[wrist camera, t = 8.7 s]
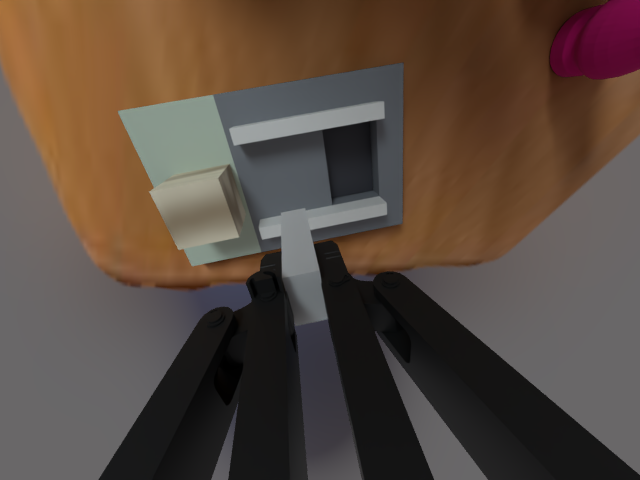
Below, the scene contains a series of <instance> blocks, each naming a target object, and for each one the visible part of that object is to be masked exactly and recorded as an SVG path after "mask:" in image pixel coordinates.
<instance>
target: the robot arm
mask: <svg viewBox="0 0 640 480" xmlns="http://www.w3.org/2000/svg"><path fill="white" fill-rule="evenodd" d="M281 247H282V251H281V252H276V253H271V254H266V255H265V256H264V257H263V259H262V260H261V266H260V271H259V272H256V273H255V274H253V275H251V276H250V277H249V278H248V280H247V282H246V285H247V287H248V290H249V292H250V295H251V298H252V302H251V303H250V304H248V305H247V306H245V307H243V308H241V309H239V310H237V311H235V312H233V311H232V309H230V308H229V307H219V308H215V309H213V310H211V311H209V312H208V313H206V314H205V315H204V316H203V317H202V318H201V319H200V321H199V322H198V324H197V325H196V327H195V328H194V330H193V331H192V333H191V335H190V336H189V338H188V339H187V341H186V343H185V344H184V346H183V347H182V349H181V350H180V352H179V354H178V355H177V357H176V358H175V360H174V361H173V363H172V365H171V366H170V368H169V369H168V371H167V372H166V374H165V376H164V377H163V379H162V380H161V382H160V384H159V385H158V387H157V388H156V390H155V391H154V393H153V395H152V396H151V398H150V399H149V401H148V403H147V404H146V406H145V407H144V409H143V411H142V412H141V413H140V415H139V417H138V418H137V420H136V421H135V423H134V424H133V426H132V428H131V429H130V431H129V432H128V434H127V436H126V437H125V439H124V440H123V442H122V444H121V445H120V447H119V448H118V450H117V451H116V453H115V454H114V456H113V458H112V459H111V461H110V462H109V464H108V465H107V467H106V469H105V470H104V472H103V473H102V475H101V477H100V478H99V480H211V478H212V475H213V472H214V470H215V467H216V464H217V461H218V458H219V455H220V452H221V450H222V446H223V444H224V441H225V438H226V435H227V432H228V430H229V427H230V424H231V421H232V418H233V415H234V412H235V410H236V407H237V404H238V409H237V417H236V425H235V432H234V440H233V448H232V456H231V463H230V471H229V479H228V480H308V475H307V463H306V450H305V437H304V425H303V424H304V423H303V411H302V398H301V384H300V371H299V358H298V345H297V335H296V332H295V328H294V322H295V326H298V325H303V324H307V323H312V322H317V321H322V320H326V319H328V322H329V327H330V332H331V338H332V342H333V346H334V351H335V355H336V360H337V365H338V370H339V374H340V379H341V384H342V388H343V393H344V398H345V402H346V407H347V411H348V416H349V421H350V425H351V430H352V435H353V439H354V444H355V449H356V453H357V458H358V463H359V468H360V472H361V477H362V480H434V478H433V476H432V473H431V471H430V468H429V466H428V463H427V461H426V459H425V456H424V454H423V451H422V448H421V446H420V443H419V441H418V438H417V436H416V433H415V431H414V429H413V426H412V423H411V421H410V419H409V416H408V414H407V411H406V409H405V406H404V404H403V401H402V399H401V396H400V394H399V391H398V389H397V386H396V384H395V381H394V379H393V376H392V374H391V371H390V369H389V366H388V364H387V361H386V359H385V356H384V354H383V351H382V349H381V346H380V344H379V342H378V339H377V336H376V334H375V331H377V333H378V335H379V336H380V338H381V339H382V340H383V342H384V343H385V344H386V345H387V347H388V348H389V349H390V351H391V352H392V353H393V355H394V356H395V357H396V359H397V360H398V361H399V363H400V364H401V365H402V367H403V368H404V369H405V371H406V372H407V373H408V375H409V376H410V377H411V378H412V380H413V381H414V382H415V384H416V385H417V386H418V388H419V389H420V390H421V392H422V393H423V394H424V395H425V397H426V398H427V400H428V401H429V402H430V403H431V405H432V406H433V407H434V409H435V410H436V411H437V413H438V414H439V415H440V417H441V418H442V419H443V421H444V422H445V423H446V425H447V426H448V427H449V428H450V430H451V431H452V433H453V434H454V435H455V437H456V438H457V439H458V440H459V442H460V443H461V444H462V446H463V447H464V448H465V450H466V451H467V452H468V454H469V455H470V456H471V458H472V459H473V460H474V461H475V463H476V464H477V465H478V467H479V468H480V470H481V471H482V472H483V473H484V475H485V476H486V477H487V479H488V480H640V475H639V474H638V473H637V472H635V471H634V470H633V469H632V468H631V467H629V466H628V465H627V464H626V463H625V462H624V461H622V460H621V459H620V458H619V457H618V456H616V455H615V454H614V453H613V452H612V451H611V450H609V449H608V448H607V447H606V446H605V445H603V444H602V443H601V442H600V441H599V440H598V439H596V438H595V437H594V436H593V435H592V434H590V433H589V432H588V431H587V430H586V429H585V428H583V427H582V426H581V425H580V424H579V423H578V422H576V421H575V420H574V419H573V418H572V417H570V416H569V415H568V414H567V413H566V412H564V411H563V410H562V409H561V408H560V407H559V406H557V405H556V404H555V403H554V402H553V401H552V400H550V399H549V398H548V397H547V396H546V395H544V394H543V393H542V392H541V391H540V390H539V389H537V388H536V387H535V386H534V385H533V384H531V383H530V382H529V381H528V380H527V379H526V378H524V377H523V376H522V375H521V374H520V373H519V372H517V371H516V370H515V369H514V368H513V367H511V366H510V365H509V364H508V363H507V362H506V361H504V360H503V359H502V358H501V357H500V356H498V355H497V354H496V353H495V352H494V351H493V350H491V349H490V348H489V347H488V346H486V345H485V344H484V343H483V342H482V341H481V340H480V339H478V338H477V337H476V336H475V335H473V334H472V333H471V332H470V331H469V330H468V329H466V328H465V327H464V326H463V325H462V324H460V323H459V322H458V321H457V320H456V319H455V318H454V317H452V316H451V315H450V314H449V313H448V312H446V311H445V310H444V309H443V308H442V307H441V306H439V305H438V304H437V303H436V302H435V301H433V300H432V299H431V298H430V297H429V296H428V295H426V294H425V293H424V292H423V291H422V290H421V289H419V288H418V287H417V286H416V285H415V284H413V283H412V282H411V281H410V280H409V279H407V278H406V277H405V276H404V275H402V274H400V273H397V272H388V271H387V272H383V273H380V274H378V275H376V277H375V278H374V280H373V281H360V280H356V279H354V278H353V277H352V276H351V275H350V274H349V273H348V271H347V268H346V266H345V263H344V261H343V258H342V256H341V253H340V251H339V248H338V245H337V244H336V243H334V242H333V241H327V242H322V243H317V244H313V240H312V236H311V232H310V227H309V223H308V219H307V214H306V210H305V208H302V209H297V210H292V211H287V212H282V213H281ZM238 401H239V402H238Z"/></svg>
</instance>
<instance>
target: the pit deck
mask: <svg viewBox="0 0 640 480" xmlns="http://www.w3.org/2000/svg"><path fill="white" fill-rule="evenodd" d="M118 113H119V115H120V117H121V120H122V122H123V124H124V126H125V128H126V130H127V132H128V134H129V136H130V138H131V140H132V142H133V145H134V147H135V149H136V151H137V153H138V155H139V157H140V159H141V161H142V163H143V165H144V167H145V170H146V172H147V174H148V176H149V178H150V180H151V182H152V184H153V186H154V188H155V187H157V186H158V185H160V184H161V183H163V182H164V181H165V180H167V179H168V178H170V177H171V176H173V175H175V174H180V173H185V172H190V171H195V170H200V169H205V168H210V167H216V166H221V165H226V164H230V167H231V170H232V173H233V176H234V179H235V182H236V185H237V188H238V191H239V194H240V197H241V200H242V203H243V207H244V210H245V213H246V216H245V219H244V223H243V226H242V230H241V233H240V237H238V238H233V239H228V240H224V241H219V242H214V243H209V244H204V245H200V246H195V247H190V248H185V249H184V251H185V253H186V255H187V257H188V259H189V261H190V263H191V265H192V266H195V265H200V264H205V263H210V262H215V261H220V260H225V259H230V258H235V257H240V256H245V255H250V254H255V253H260V252H265V251H270V250H275V249H280V248H282V247H281V213H282V212H287V211H292V210H297V209H302V208H305V210H306V214H307V219H308V223H309V227H310V232H311V236H312V240H313V242H314V241H319V240H324V239H329V238H334V237H339V236H344V235H349V234H354V233H359V232H364V231H368V230H373V229H378V228H383V227H388V226H393V225H398V224H402V217H403V63H398V64H392V65H386V66H380V67H374V68H368V69H362V70H356V71H351V72H345V73H339V74H333V75H327V76H321V77H315V78H309V79H304V80H298V81H292V82H286V83H280V84H274V85H268V86H262V87H256V88H251V89H245V90H239V91H233V92H227V93H221V94H215V95H209V96H204V97H198V98H192V99H186V100H180V101H174V102H168V103H162V104H156V105H151V106H145V107H139V108H133V109H127V110H121V111H118ZM369 122H370V123H369ZM370 141H371V142H370ZM371 160H372V161H371ZM372 179H373V180H372Z"/></svg>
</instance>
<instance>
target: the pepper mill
mask: <svg viewBox="0 0 640 480" xmlns="http://www.w3.org/2000/svg"><path fill="white" fill-rule="evenodd" d="M550 65H551V67H552V70H553V71H554V72H555V74H557V75H558V76H561V77H573V76H582V75H585V76H586V77H588V78H591V79H607V78H613V77H619V76H622V75H625V74H628V73H631V72H634V71H636V70H639V69H640V0H609V1H608V2H607V3H605V4H604V5H599V6H595V7H591V8H588V9H585V10H582V11H580V12H578V13H576V14H575V15H573V16H572V17H571V18H570V19H569V20H567V21H566V22H565V24H564V25H563V26H562V27H561V29H560V30H559V32H558V33H557V35H556V37H555V39H554V42H553V44H552V47H551V52H550Z"/></svg>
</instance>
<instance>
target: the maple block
mask: <svg viewBox="0 0 640 480" xmlns="http://www.w3.org/2000/svg"><path fill="white" fill-rule="evenodd" d="M150 194H151V196H152V198H153V200H154V202H155V204H156V206H157V208H158V210H159V212H160V214H161V216H162V218H163V220H164V222H165V224H166V226H167V228H168V230H169V232H170V234H171V236H172V238H173V240H174V242H175V244H176V246H177V248H178V250H180V249H185V248H190V247H195V246H200V245H204V244H209V243H214V242H219V241H224V240H228V239H233V238H238V237H240V233H241V230H242V226H243V223H244V219H245V216H246V213H245V210H244V207H243V203H242V200H241V197H240V194H239V191H238V188H237V185H236V182H235V179H234V176H233V173H232V170H231V167H230V164H226V165H221V166H216V167H210V168H205V169H200V170H195V171H190V172H185V173H180V174H175V175H173V176H171V177H170V178H168V179H167V180H165V181H164V182H163V183H161V184H160V185H158V186H157V187H155V188H154V189H152V190H151V191H150Z"/></svg>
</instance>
